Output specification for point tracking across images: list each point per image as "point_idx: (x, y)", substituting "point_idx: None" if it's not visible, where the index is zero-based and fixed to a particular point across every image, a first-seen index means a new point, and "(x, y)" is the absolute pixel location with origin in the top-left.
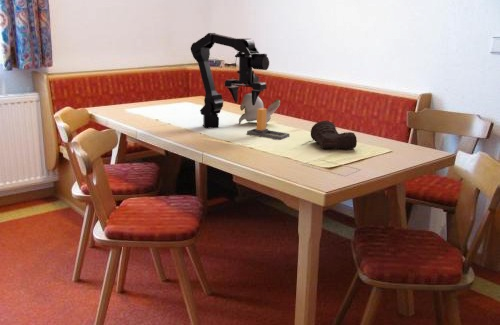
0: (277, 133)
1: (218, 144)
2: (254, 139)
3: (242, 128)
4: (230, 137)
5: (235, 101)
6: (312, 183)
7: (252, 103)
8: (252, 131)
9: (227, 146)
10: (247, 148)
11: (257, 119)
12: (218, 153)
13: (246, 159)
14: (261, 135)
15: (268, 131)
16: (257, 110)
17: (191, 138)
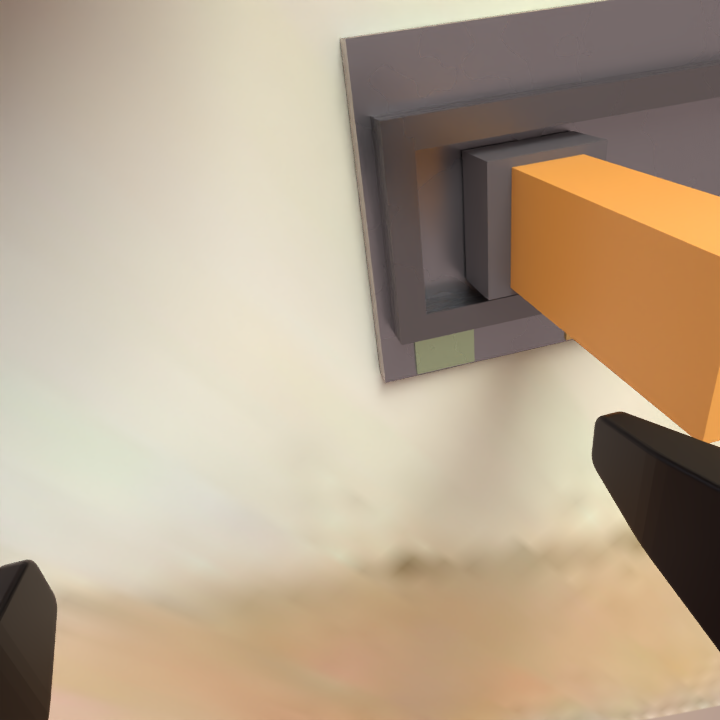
0: (709, 95)
1: (410, 644)
2: (533, 369)
3: (15, 44)
4: (321, 486)
5: (49, 657)
6: None
7: (626, 508)
8: (459, 310)
9: (488, 624)
10: (619, 559)
11: (593, 345)
12: (536, 710)
13: (705, 657)
14: None
15: (589, 117)
16: (691, 430)
17: (133, 713)
